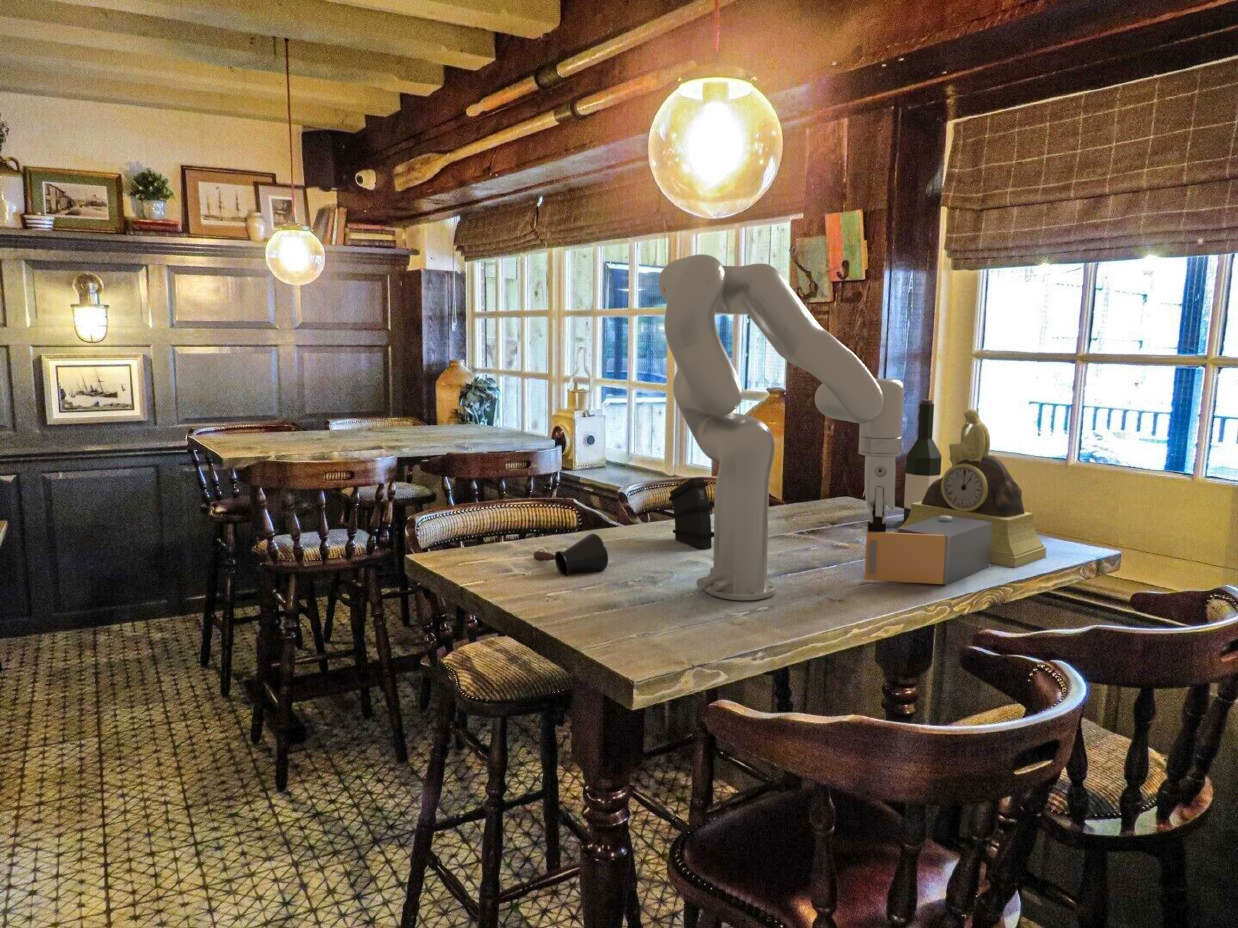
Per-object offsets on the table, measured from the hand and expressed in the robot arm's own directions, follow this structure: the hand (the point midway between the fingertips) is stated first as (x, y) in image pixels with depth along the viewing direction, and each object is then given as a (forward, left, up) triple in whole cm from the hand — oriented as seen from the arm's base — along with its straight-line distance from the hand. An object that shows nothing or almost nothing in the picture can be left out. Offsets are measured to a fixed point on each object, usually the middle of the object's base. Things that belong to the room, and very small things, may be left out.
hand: (876, 542), depth 161 cm
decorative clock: (+34, -1, -7) cm, 35 cm away
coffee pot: (-36, +47, -7) cm, 60 cm away
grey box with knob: (+16, -6, -7) cm, 18 cm away
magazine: (-4, +43, -7) cm, 44 cm away
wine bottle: (+50, +17, -7) cm, 53 cm away
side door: (+1, -6, -6) cm, 9 cm away
